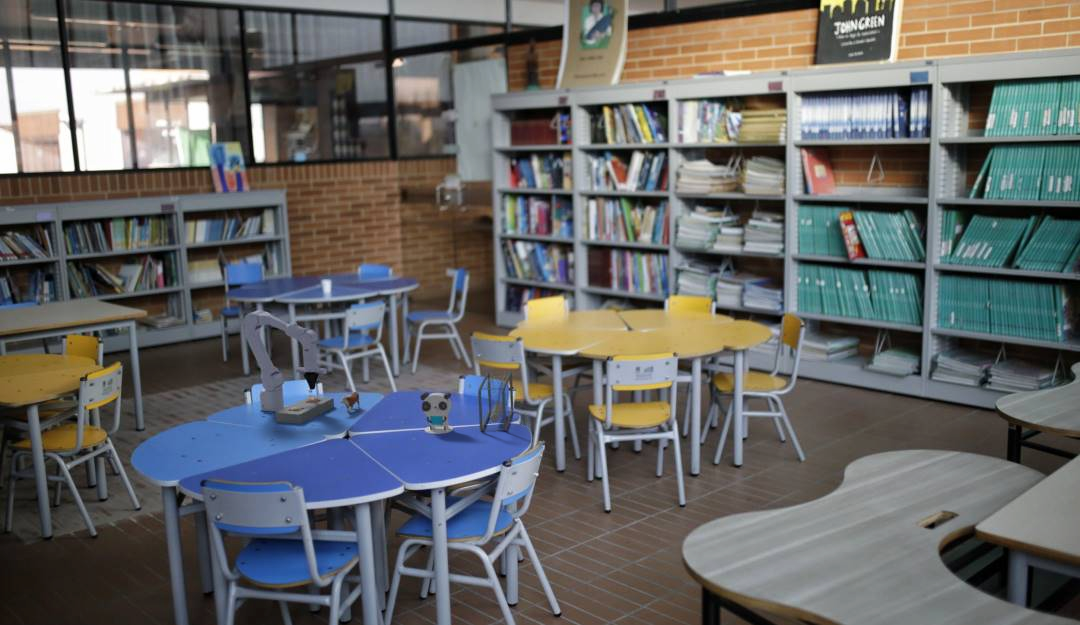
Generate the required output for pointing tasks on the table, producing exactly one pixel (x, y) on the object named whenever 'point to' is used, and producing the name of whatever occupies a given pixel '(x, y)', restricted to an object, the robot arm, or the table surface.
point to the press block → (304, 410)
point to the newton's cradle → (498, 406)
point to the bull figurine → (350, 400)
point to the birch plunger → (296, 409)
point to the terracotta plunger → (313, 400)
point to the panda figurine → (437, 412)
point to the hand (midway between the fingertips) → (312, 389)
